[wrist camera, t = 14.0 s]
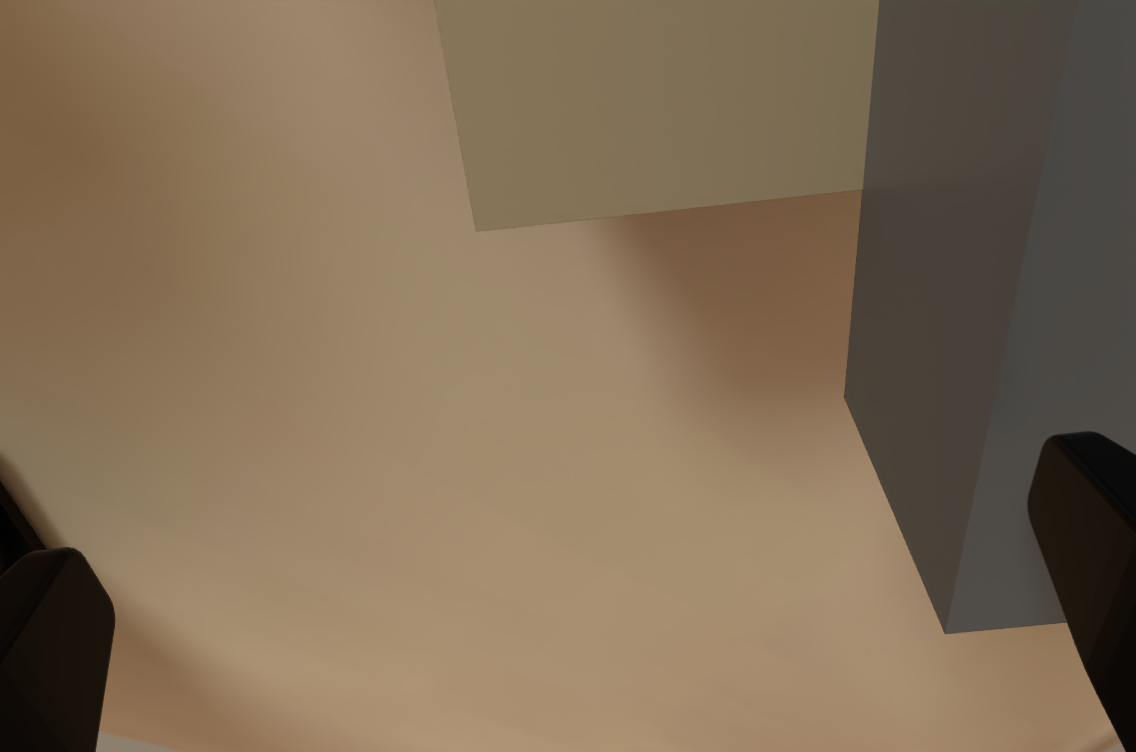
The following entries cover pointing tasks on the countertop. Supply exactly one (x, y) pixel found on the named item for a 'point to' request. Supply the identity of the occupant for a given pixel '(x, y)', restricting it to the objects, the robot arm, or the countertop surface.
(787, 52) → the carton lid
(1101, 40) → the grey rectangular bar
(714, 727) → the countertop surface
